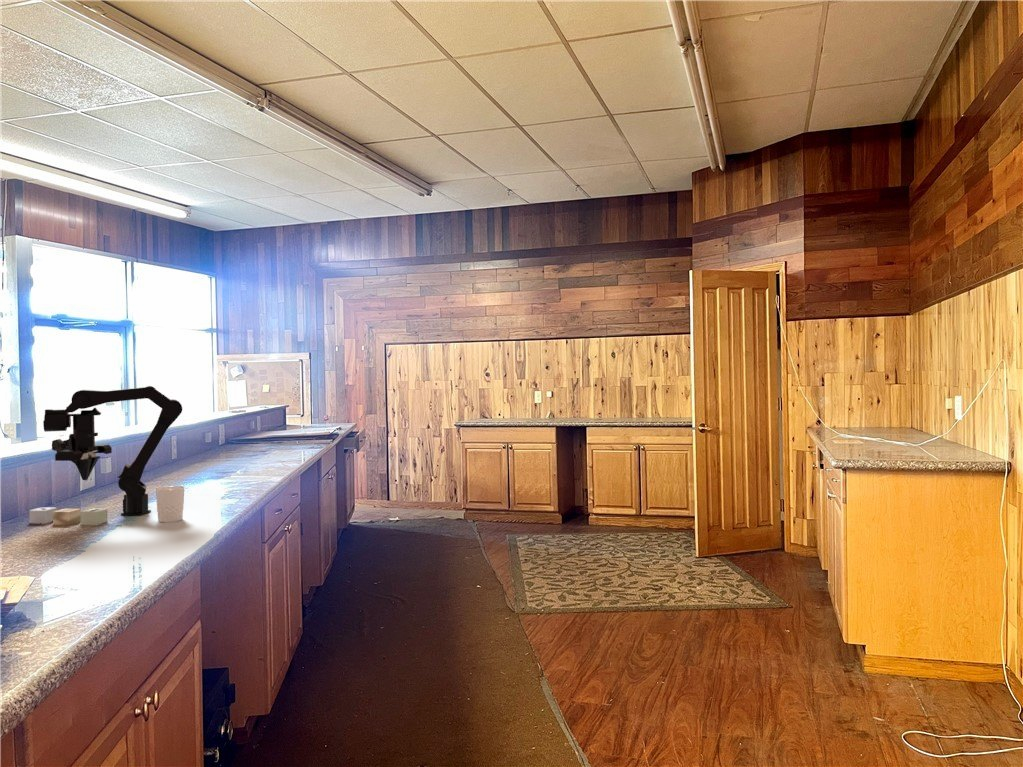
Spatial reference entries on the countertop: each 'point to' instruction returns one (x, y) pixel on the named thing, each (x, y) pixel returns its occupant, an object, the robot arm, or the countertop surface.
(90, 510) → the sage block one
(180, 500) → the white cup
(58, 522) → the birch block
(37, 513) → the white die
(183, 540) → the countertop surface
